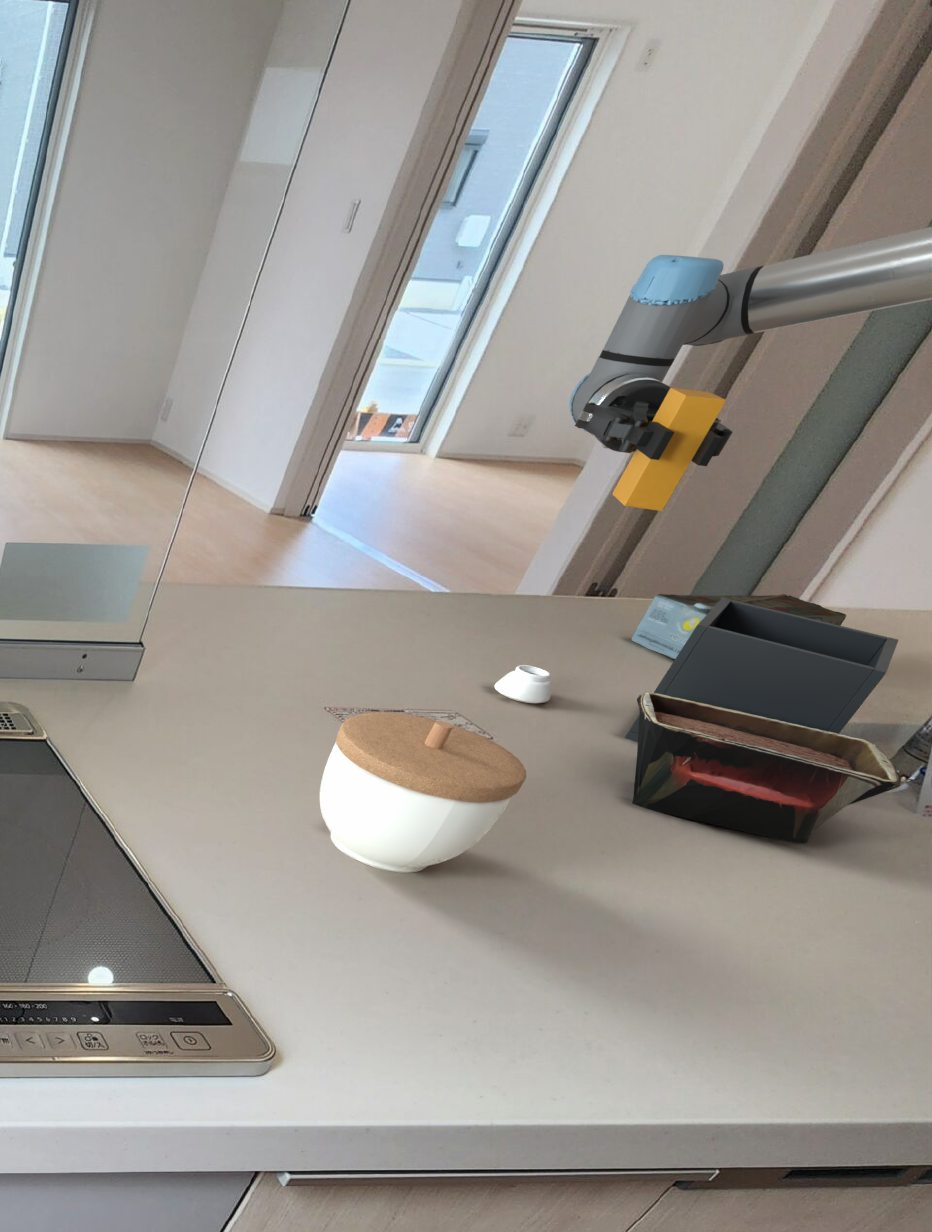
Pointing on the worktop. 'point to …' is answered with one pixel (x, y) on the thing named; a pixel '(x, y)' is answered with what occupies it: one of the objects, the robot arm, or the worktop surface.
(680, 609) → the beverage carton
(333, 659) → the worktop surface
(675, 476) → the block
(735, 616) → the bin
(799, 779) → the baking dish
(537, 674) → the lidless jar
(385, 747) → the lidded bowl
